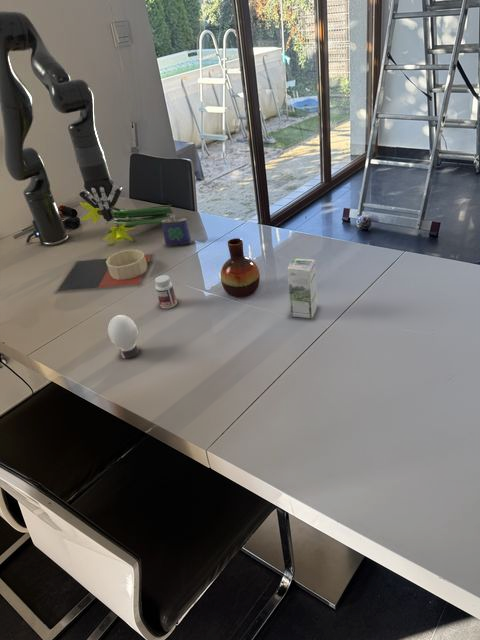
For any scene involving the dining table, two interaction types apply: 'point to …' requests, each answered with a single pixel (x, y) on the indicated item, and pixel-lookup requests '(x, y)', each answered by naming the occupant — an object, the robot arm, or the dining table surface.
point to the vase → (239, 272)
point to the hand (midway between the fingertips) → (109, 220)
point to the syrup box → (302, 288)
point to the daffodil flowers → (120, 228)
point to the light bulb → (124, 335)
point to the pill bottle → (165, 292)
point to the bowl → (126, 264)
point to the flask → (176, 232)
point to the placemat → (94, 276)
